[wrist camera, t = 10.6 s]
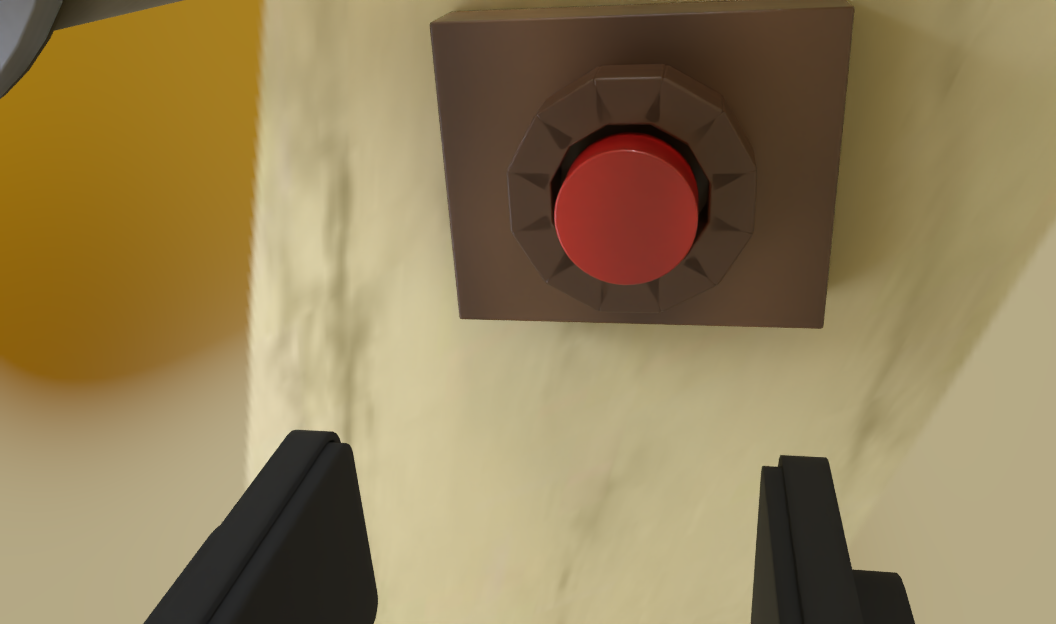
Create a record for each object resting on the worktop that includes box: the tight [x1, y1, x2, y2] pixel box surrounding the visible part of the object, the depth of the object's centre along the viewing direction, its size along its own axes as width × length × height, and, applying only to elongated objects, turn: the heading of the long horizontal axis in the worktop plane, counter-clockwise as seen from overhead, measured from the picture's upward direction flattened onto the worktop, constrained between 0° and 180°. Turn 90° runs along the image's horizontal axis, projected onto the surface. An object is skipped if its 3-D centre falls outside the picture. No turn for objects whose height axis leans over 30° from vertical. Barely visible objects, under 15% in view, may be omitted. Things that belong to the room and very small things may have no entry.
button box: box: [430, 0, 854, 329], centre depth 25 cm, size 11×9×4 cm
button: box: [554, 132, 698, 285], centre depth 23 cm, size 4×4×2 cm
